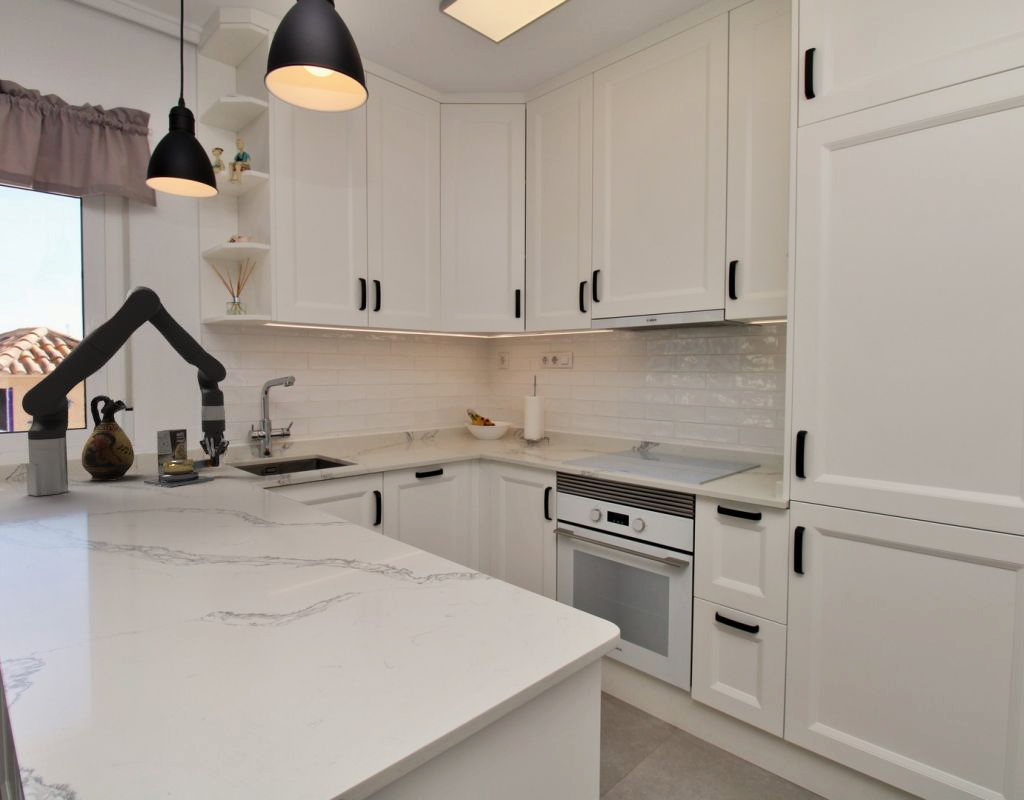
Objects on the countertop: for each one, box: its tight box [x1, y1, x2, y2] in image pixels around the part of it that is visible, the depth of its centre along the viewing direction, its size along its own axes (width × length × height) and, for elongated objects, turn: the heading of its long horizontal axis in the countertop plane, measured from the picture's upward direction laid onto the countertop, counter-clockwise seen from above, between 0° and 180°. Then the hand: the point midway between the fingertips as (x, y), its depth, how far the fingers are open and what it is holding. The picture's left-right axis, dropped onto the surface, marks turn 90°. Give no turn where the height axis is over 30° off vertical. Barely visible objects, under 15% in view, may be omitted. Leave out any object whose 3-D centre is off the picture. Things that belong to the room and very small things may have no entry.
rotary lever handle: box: [163, 457, 212, 475], centre depth 198 cm, size 18×9×4 cm, turn 153°
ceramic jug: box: [81, 394, 135, 482], centre depth 201 cm, size 17×15×30 cm
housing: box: [143, 460, 214, 488], centre depth 194 cm, size 15×15×7 cm
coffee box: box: [156, 428, 188, 474], centre depth 216 cm, size 9×6×16 cm
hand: (215, 466), depth 202 cm, fingers closed
